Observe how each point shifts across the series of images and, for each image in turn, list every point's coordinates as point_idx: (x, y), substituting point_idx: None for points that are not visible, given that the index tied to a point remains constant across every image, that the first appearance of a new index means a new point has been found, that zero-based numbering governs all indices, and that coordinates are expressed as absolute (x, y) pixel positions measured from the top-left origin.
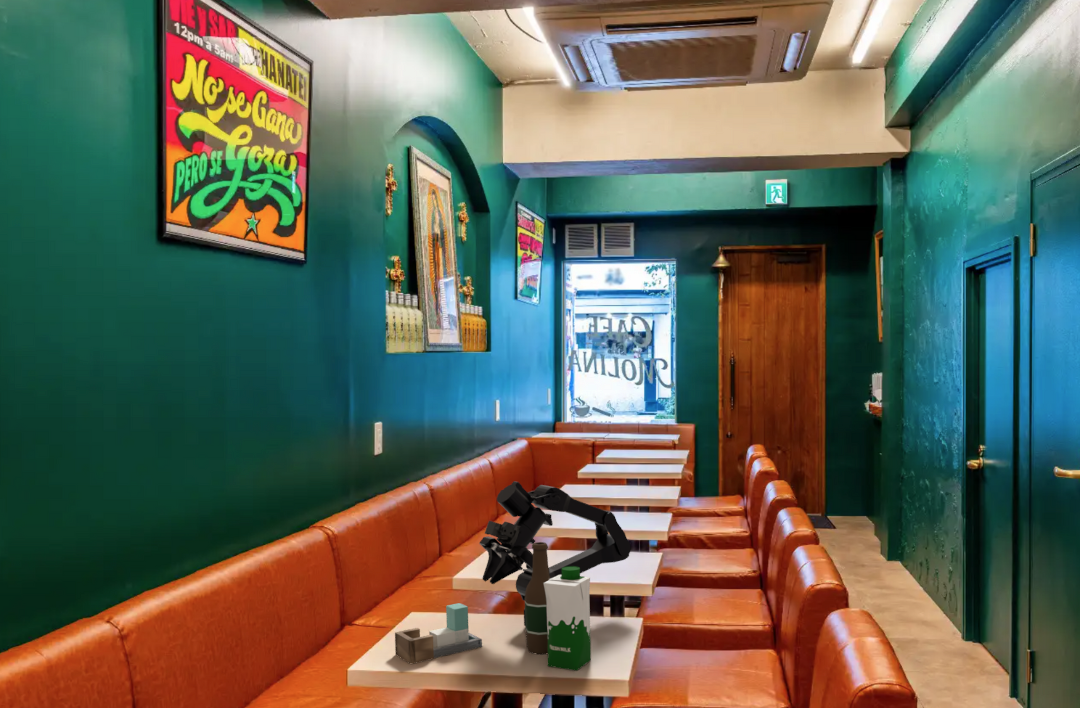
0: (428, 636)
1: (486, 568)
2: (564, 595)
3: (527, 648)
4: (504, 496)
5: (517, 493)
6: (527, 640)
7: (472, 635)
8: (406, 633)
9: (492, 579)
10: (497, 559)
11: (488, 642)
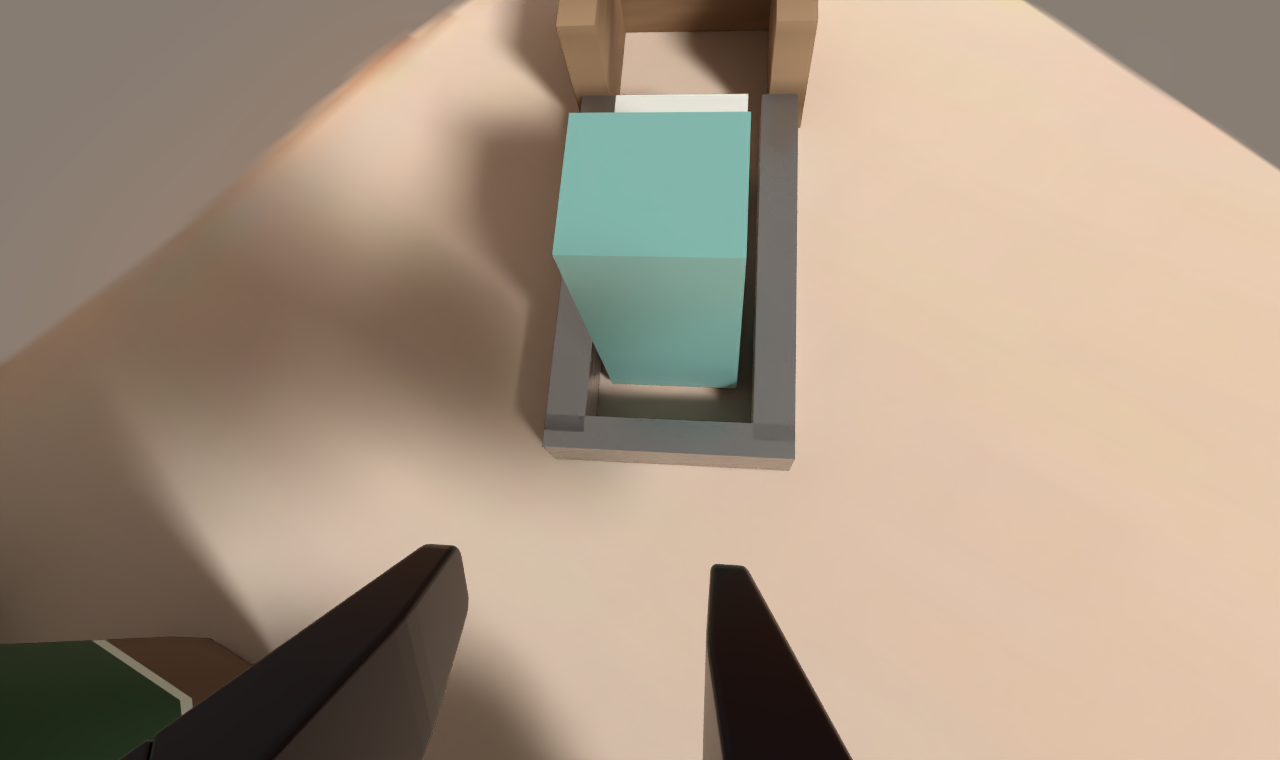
0: (571, 1)
1: (792, 736)
2: None
3: (248, 663)
4: None
5: None
6: (182, 651)
7: (667, 439)
8: None
9: (384, 579)
10: None
11: (609, 553)
